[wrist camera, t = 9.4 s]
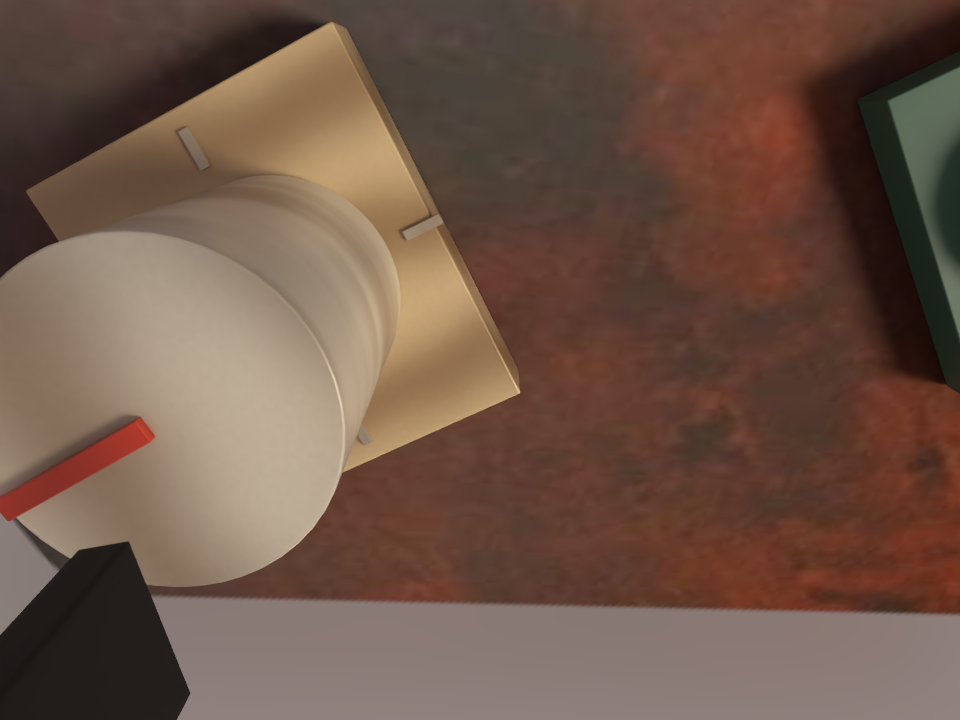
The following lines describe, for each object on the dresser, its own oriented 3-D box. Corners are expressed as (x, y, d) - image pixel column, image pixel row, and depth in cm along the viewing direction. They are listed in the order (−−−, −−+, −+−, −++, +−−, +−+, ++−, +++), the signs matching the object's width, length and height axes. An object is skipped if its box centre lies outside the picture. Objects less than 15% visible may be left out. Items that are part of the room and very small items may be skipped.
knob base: (525, 367, 30) (528, 392, 28) (255, 489, 32) (235, 522, 30) (353, 22, 26) (338, 15, 24) (56, 186, 28) (13, 195, 26)
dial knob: (315, 126, 25) (185, 153, 14) (445, 339, 27) (416, 497, 17) (113, 251, 27) (-140, 359, 16) (253, 444, 29) (114, 649, 18)
